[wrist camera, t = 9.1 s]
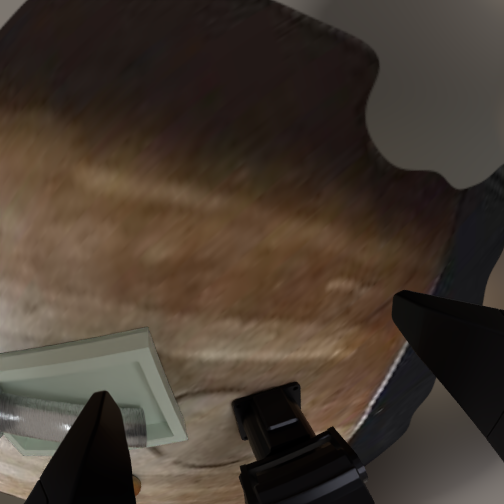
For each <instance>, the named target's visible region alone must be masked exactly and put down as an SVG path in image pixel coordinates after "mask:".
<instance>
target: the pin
mask: <svg viewBox="0 0 504 504" xmlns="http://www.w3.org/2000/svg"><path fill="white" fill-rule="evenodd" d="M84 406H85V405H82V404H73V403H64V402H56V401H49V400H42V399H36V398H30V397H24V396H19V395H13V394H8V393H4V392H3V390H2V388H1V386H0V438H1V437H2V436H3V433H9V434H13V435H18V436H23V437H29V438H34V439H40V440H47V441H54V442H62V440H63V439H64V437H65V436H66V434H67V433H68V431H69V429H70V428H71V426H72V425H73V423H74V422H75V420H76V418H77V417H78V415H79V414H80V412H81V411H82V409H83V408H84ZM119 408H120V410H121V413H122V417H123V423H124V429H125V434H126V439H127V444H128V447H130V448H146V447H147V431H146V421H145V415H144V410H143V408H122V407H119Z"/></svg>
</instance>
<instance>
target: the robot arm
mask: <svg viewBox="0 0 504 504" xmlns="http://www.w3.org/2000/svg"><path fill="white" fill-rule="evenodd" d="M392 319H393V321H394V323H395V324H396V326H397V327H398V329H399V330H400V331H401V333H402V334H403V336H404V337H405V338H406V340H407V341H408V343H409V344H410V346H411V347H412V348H413V350H414V351H415V353H416V354H417V355H418V356H419V358H420V359H421V360H422V361H423V362H424V363H425V365H426V366H427V367H428V368H429V369H430V370H431V372H432V373H433V374H434V375H435V376H436V377H437V379H438V380H439V381H440V382H441V383H442V385H444V387H445V388H446V389H447V390H448V392H449V393H450V394H451V395H452V397H453V398H454V399H455V400H456V401H457V403H458V404H459V405H460V406H461V408H462V409H463V410H464V411H465V412H466V414H467V415H468V416H469V417H470V419H471V420H472V421H473V422H474V424H475V425H476V426H477V428H478V429H479V430H480V431H481V433H482V434H483V435H484V436H485V437H486V439H487V441H488V442H489V443H490V444H491V446H492V447H493V448H494V450H495V451H496V452H497V453H498V455H499V456H500V458H501V459H502V460H503V462H504V310H501V309H500V310H499V309H496V308H491V307H486V306H481V305H476V304H471V303H466V302H462V301H457V300H452V299H447V298H442V297H437V296H432V295H427V294H423V293H418V292H413V291H408V290H403V291H400V292H398V293H396V294H395V295H394V297H393V304H392ZM238 404H239V405H238ZM232 405H233V409H234V412H235V416H236V420H237V424H238V428H239V432H240V435H241V438H242V440H249V443H250V445H251V448H252V450H253V453H254V455H255V458H256V460H257V461H255V462H253V463H250V464H247V465H246V464H244V465H241V466H240V470H241V474H240V476H239V479H240V482H241V485H242V488H243V491H244V497H245V504H374V501H373V499H372V497H371V495H370V493H369V491H368V489H367V487H366V485H365V484H364V483H365V482H367V481H368V476H367V473H366V470H365V468H364V466H363V464H362V462H361V460H360V459H359V457H358V456H357V454H356V453H355V452H354V450H353V449H352V448H351V447H350V446H349V445H348V444H347V442H346V441H345V440H344V439H343V438H342V437H341V435H340V434H339V433H338V432H337V431H336V430H335V428H334V427H333V426H332V427H330V428H328V429H327V431H325V432H322V433H320V434H318V435H315V433H314V431H313V430H312V428H311V426H310V425H309V423H308V421H307V420H306V418H305V416H304V415H303V413H302V411H301V392H300V385H299V383H298V382H293V383H290V384H287V385H284V386H281V387H278V388H275V389H272V390H269V391H265V392H262V393H259V394H255V395H252V396H248V397H245V398H241V399H238V400H235V401H234V402H233V404H232ZM24 504H136V498H135V491H134V484H133V475H132V466H131V459H130V454H129V449H128V444H127V439H126V434H125V429H124V423H123V417H122V413H121V410H120V408H119V407H118V405H117V404H116V402H115V401H114V399H113V398H112V396H111V395H110V393H109V392H108V391H106V390H103V391H98V392H94V393H93V394H92V396H91V397H90V399H89V400H88V402H87V403H86V405H85V406H84V408H83V409H82V411H81V412H80V414H79V415H78V417H77V418H76V420H75V422H74V423H73V425H72V426H71V428H70V429H69V431H68V433H67V434H66V436H65V437H64V439H63V440H62V442H61V444H60V445H59V447H58V448H57V450H56V452H55V453H54V455H53V457H52V458H51V460H50V461H49V463H48V465H47V466H46V468H45V470H44V471H43V473H42V475H41V476H40V480H38V481H37V483H36V485H35V487H34V488H33V490H32V491H31V493H30V495H29V496H28V498H27V500H26V501H25V503H24Z"/></svg>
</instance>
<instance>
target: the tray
mask: <svg viewBox="0 0 504 504" xmlns="http://www.w3.org/2000/svg"><path fill="white" fill-rule="evenodd" d="M0 386H1V388H2V390H3V392H4V393H8V394H13V395H19V396H24V397H30V398H36V399H42V400H49V401H56V402H64V403H73V404H82V405H86V403H87V402H88V400H89V399H90V397H91V396H92V394H93V393H94V392H98V391H103V390H106V391H108V392H109V393H110V395H111V396H112V398H113V399H114V401H115V402H116V404H117V405H118V407H122V408H143V410H144V415H145V421H146V431H147V447H153V446H159V445H165V444H170V443H175V442H181V441H185V440H188V436H187V432H186V427H185V422H184V418H183V416H182V414H181V412H180V409H179V407H178V405H177V402H176V400H175V397H174V395H173V393H172V390H171V388H170V385H169V383H168V380H167V378H166V375H165V373H164V370H163V367H162V365H161V362H160V359H159V357H158V354H157V351H156V348H155V346H154V343H153V340H152V337H151V334H150V331H149V328H148V327H144V328H139V329H135V330H130V331H125V332H120V333H115V334H110V335H105V336H100V337H95V338H90V339H84V340H79V341H73V342H68V343H62V344H56V345H51V346H45V347H39V348H33V349H26V350H20V351H13V352H7V353H0ZM3 434H4V435H5V437H6V438H7V439H8V440H9V441H10V442H11V443H12V445H13V446H14V447H15V448H16V449H17V450H18V451H19V452H20V453H21V454H22V455H23V456H53V455H54V453H55V452H56V450H57V448H58V447H59V445H60V444H61V442H54V441H47V440H40V439H34V438H29V437H23V436H18V435H13V434H9V433H3ZM147 447H146V448H147ZM128 449H129V450H133V449H140V448H130V447H128Z"/></svg>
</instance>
